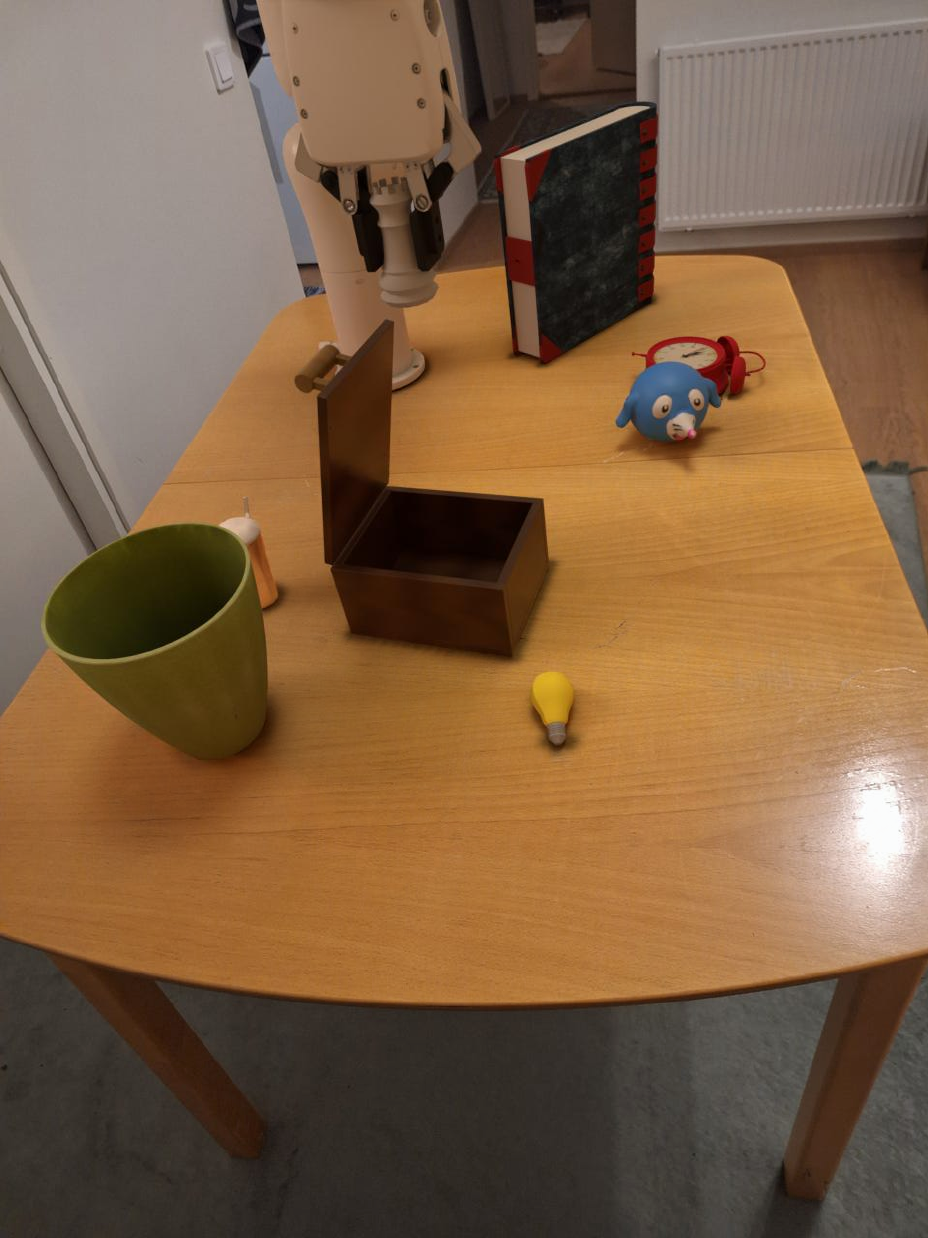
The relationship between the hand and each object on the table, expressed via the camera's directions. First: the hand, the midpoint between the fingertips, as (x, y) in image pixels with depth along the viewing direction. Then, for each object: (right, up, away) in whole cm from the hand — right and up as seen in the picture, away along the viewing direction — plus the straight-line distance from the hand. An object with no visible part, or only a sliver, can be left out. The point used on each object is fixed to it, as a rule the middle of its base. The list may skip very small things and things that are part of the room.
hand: (404, 262), depth 59 cm
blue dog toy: (+28, -7, +31) cm, 42 cm away
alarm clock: (+33, +3, +40) cm, 52 cm away
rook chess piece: (0, -2, +2) cm, 3 cm away
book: (+22, +16, +56) cm, 62 cm away
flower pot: (-16, -35, +9) cm, 40 cm away
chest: (+3, -24, +17) cm, 30 cm away
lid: (-4, -12, +8) cm, 15 cm away
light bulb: (+12, -34, +5) cm, 36 cm away
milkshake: (-15, -24, +21) cm, 36 cm away
